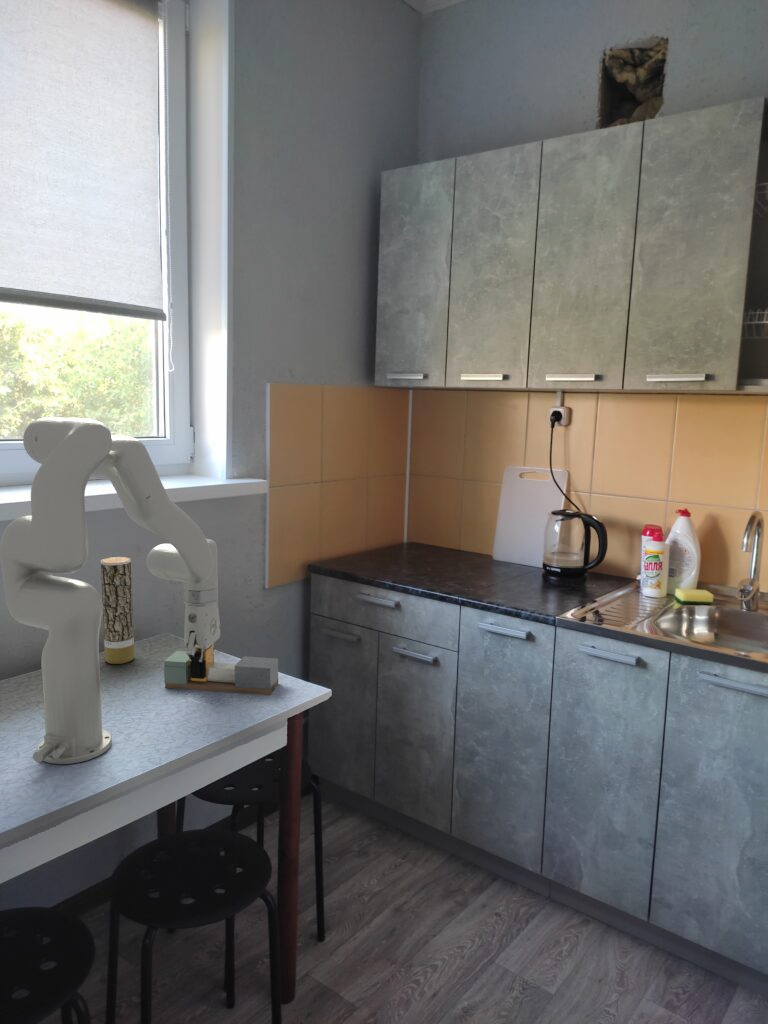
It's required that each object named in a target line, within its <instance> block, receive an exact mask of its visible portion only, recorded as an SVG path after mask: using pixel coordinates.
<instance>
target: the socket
mask: <svg viewBox="0 0 768 1024" xmlns="http://www.w3.org/2000/svg"><path fill="white" fill-rule="evenodd" d="M186 652H187V650H186V651H181V650H176V651H174V652H173V653H172V654H171V655H170V656H168V657H167V658H166V659H165V660H163V661H164V666H163V672H164V673H163V675H164V684H165V683H174V684H187V683H188V665H190V661H189V656H188V655H187V654H186Z"/></svg>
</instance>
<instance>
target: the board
mask: <svg viewBox="0 0 768 1024" xmlns="http://www.w3.org/2000/svg"><path fill="white" fill-rule="evenodd" d="M278 685H279V679H278V680H277V681H276V683H275V684H274V685H273V687H272V688H271V689H256V688H242V687H235V683H228V682H214V681H207V682H198V681H191V680H188V683H187V684H174V683H165V682H164V688H166V689H178V690H193V691H210V692H218V693H219V692H222V693H233V694H234V693H237V694H250V695H265V696H270V695H272V694H273V692H274V691H275V689H276V688H277V686H278Z"/></svg>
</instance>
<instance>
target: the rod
mask: <svg viewBox="0 0 768 1024" xmlns="http://www.w3.org/2000/svg"><path fill="white" fill-rule="evenodd" d="M195 647H199V646H198V645H195ZM195 651H196V652H197V653H198V654H199V652H200V651H199V650H195ZM213 653H214V652H213V645H211V646H210V647H209V648H207V649H206V650H204V655H203V661H205V678H204V679H196V678H191V676H190V665H188V680H191V681H198V682H207V681H214V682H228V683H235V665H236V664H237V663H229V662H215V661H214V662H213Z"/></svg>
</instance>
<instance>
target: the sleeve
mask: <svg viewBox="0 0 768 1024" xmlns="http://www.w3.org/2000/svg"><path fill="white" fill-rule="evenodd" d="M235 664H236V665H235V687H242V688H256V689H271V688H272V687H273V685H274V684H275V683H276V681H277V680H278V681H279V658H273V657H262V656H259V657H257V656H245V655H244V656H242V658H240V660H238V662H237V663H235Z"/></svg>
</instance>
